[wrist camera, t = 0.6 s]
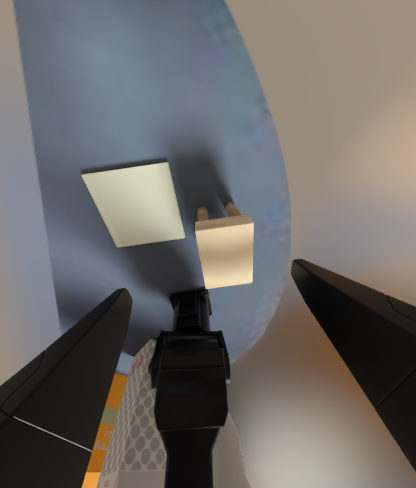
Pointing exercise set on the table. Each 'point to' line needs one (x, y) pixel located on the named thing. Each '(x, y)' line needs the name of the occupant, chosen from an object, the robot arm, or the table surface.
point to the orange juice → (105, 431)
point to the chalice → (228, 458)
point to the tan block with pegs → (225, 247)
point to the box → (136, 433)
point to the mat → (137, 204)
